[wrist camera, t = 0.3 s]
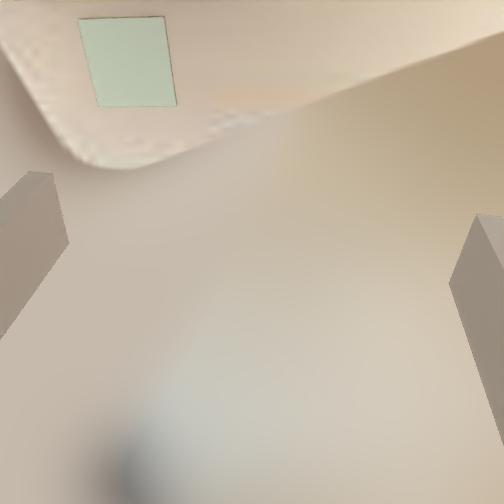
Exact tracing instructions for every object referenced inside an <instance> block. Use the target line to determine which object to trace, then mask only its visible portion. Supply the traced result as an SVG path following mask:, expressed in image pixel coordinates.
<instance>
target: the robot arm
mask: <svg viewBox="0 0 504 504" xmlns="http://www.w3.org/2000/svg"><path fill="white" fill-rule="evenodd" d="M68 244H69V241H68V237H67V233H66V229H65V224H64V220H63V216H62V212H61V207H60V203H59V199H58V195H57V191H56V187H55V183H54V178H53V174H52V173H44V172H32V171H29V172H28V173H27V174H26V175H24V177H22V178H21V179H20V180H19V181H18V182H17V183H16V184H15V185H14V186H13V187H12V188H11V189H10V190H9V191H8V192H7V193H6V194H5V195H4V196H3V197H2V198H1V199H0V340H1V338H2V337H3V336H4V334H5V333H6V331H7V330H8V329H9V327H10V326H11V324H12V323H13V322H14V320H15V319H16V317H17V316H18V315H19V313H20V312H21V310H22V309H23V308H24V306H25V305H26V303H27V302H28V300H29V299H30V298H31V296H32V295H33V293H34V292H35V291H36V289H37V287H38V286H39V285H40V283H41V282H42V281H43V279H44V278H45V277H46V275H47V274H48V272H49V271H50V269H51V268H52V267H53V265H54V264H55V262H56V261H57V260H58V258H59V257H60V255H61V254H62V253H63V251H64V250H65V248H66V247H67V245H68ZM449 285H450V288H451V291H452V294H453V297H454V300H455V303H456V306H457V309H458V312H459V315H460V318H461V321H462V324H463V327H464V329H465V333H466V336H467V338H468V342H469V345H470V348H471V351H472V354H473V356H474V359H475V362H476V365H477V368H478V371H479V374H480V377H481V380H482V383H483V386H484V389H485V392H486V395H487V398H488V401H489V404H490V407H491V409H492V413H493V415H494V419H495V422H496V425H497V427H498V431H499V433H500V436H501V439H502V442H503V445H504V218H503V217H502V216H492V215H482V214H476V216H475V219H474V221H473V223H472V226H471V229H470V231H469V234H468V236H467V239H466V241H465V244H464V246H463V249H462V251H461V254H460V256H459V259H458V261H457V264H456V266H455V269H454V271H453V274H452V277H451V279H450V282H449Z"/></svg>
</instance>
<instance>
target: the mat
mask: <svg viewBox="0 0 504 504" xmlns="http://www.w3.org/2000/svg"><path fill="white" fill-rule="evenodd" d="M77 21H78V25H79V29H80V33H81V37H82V41H83V46H84V50H85V54H86V58H87V62H88V66H89V70H90V74H91V78H92V82H93V87H94V91H95V95H96V99H97V103H98V107H169V106H177V102H176V95H175V88H174V81H173V74H172V67H171V60H170V53H169V46H168V39H167V32H166V25H165V18H164V16H160V17H126V18H92V19H78V20H77Z"/></svg>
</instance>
